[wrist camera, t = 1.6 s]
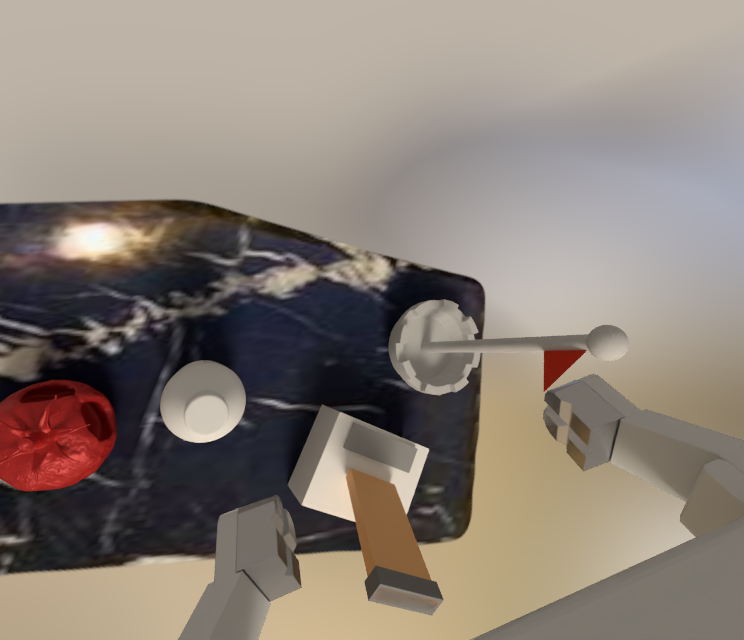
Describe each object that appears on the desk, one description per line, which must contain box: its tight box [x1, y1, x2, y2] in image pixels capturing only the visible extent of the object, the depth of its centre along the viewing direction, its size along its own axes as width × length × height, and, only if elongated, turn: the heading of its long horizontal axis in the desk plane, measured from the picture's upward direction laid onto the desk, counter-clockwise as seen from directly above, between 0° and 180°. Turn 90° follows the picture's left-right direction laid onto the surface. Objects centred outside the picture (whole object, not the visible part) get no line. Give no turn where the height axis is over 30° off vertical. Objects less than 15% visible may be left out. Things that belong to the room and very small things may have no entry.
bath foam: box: [160, 360, 246, 443], centre depth 36 cm, size 7×7×20 cm
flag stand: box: [389, 299, 629, 395], centre depth 44 cm, size 13×13×30 cm
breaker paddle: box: [346, 469, 443, 615], centre depth 38 cm, size 2×6×14 cm, turn 67°
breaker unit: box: [288, 405, 429, 522], centre depth 48 cm, size 10×13×8 cm
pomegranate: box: [0, 380, 117, 491], centre depth 35 cm, size 10×10×9 cm
